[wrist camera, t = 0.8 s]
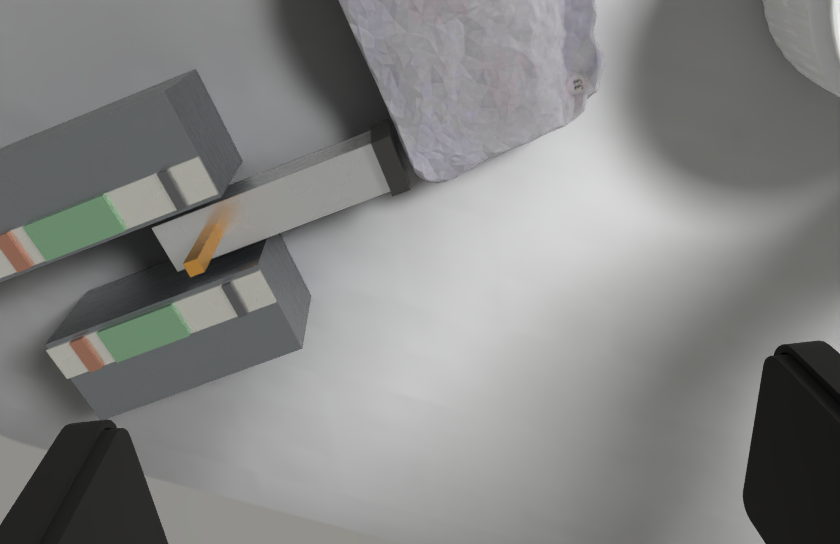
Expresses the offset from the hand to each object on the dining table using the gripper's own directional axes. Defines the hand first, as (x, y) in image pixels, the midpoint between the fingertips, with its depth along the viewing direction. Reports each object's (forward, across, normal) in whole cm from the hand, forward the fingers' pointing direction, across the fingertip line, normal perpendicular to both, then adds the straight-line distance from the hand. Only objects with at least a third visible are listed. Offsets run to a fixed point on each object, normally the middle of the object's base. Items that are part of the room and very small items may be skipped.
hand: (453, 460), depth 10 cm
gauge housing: (+23, +12, +4) cm, 26 cm away
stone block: (+24, -4, -4) cm, 24 cm away
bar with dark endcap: (+22, +6, +3) cm, 23 cm away
